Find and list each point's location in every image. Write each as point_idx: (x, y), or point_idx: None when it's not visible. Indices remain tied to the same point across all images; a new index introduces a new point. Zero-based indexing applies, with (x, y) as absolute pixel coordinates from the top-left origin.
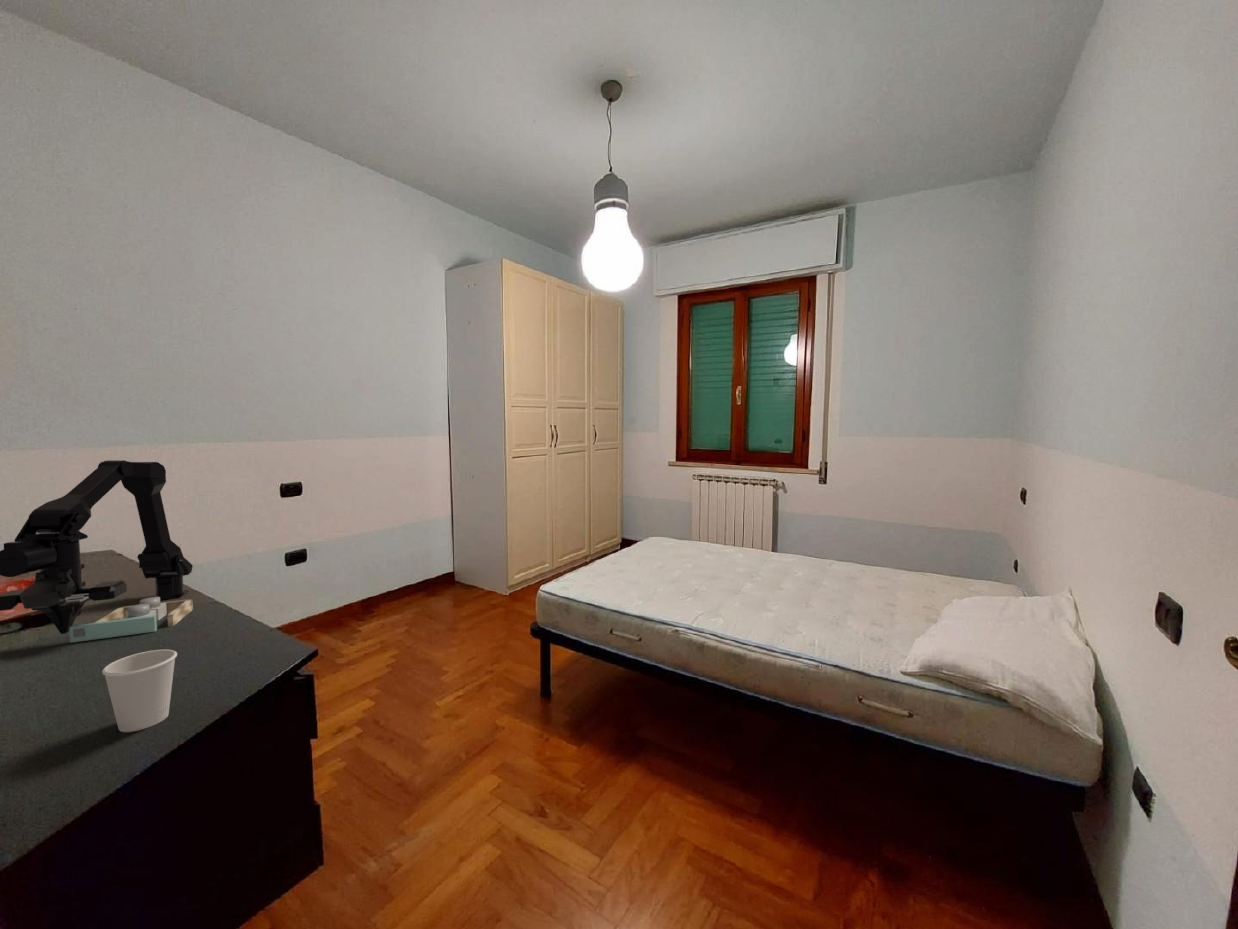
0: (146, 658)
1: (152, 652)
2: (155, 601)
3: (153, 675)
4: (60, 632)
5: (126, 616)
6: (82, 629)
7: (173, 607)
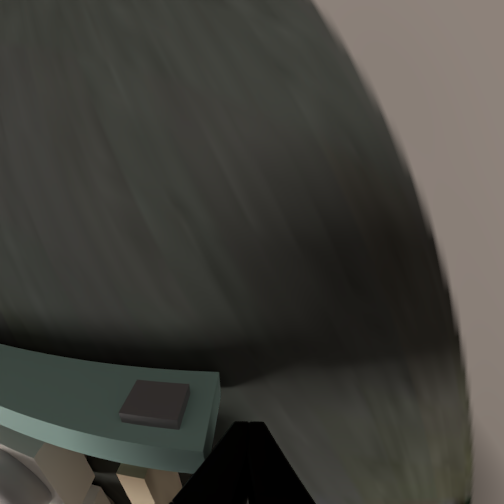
0: None
1: None
2: None
3: None
4: (265, 428)
5: (48, 485)
6: (122, 411)
7: None
